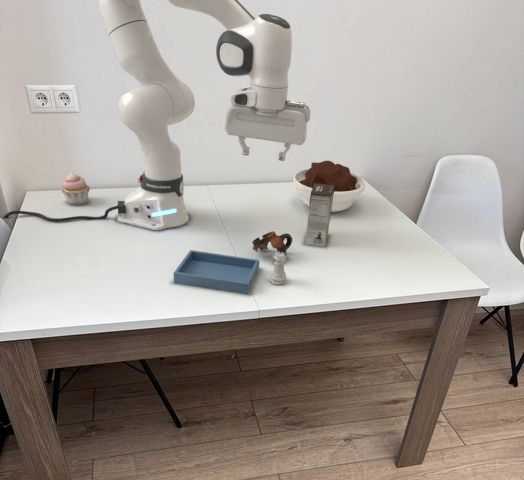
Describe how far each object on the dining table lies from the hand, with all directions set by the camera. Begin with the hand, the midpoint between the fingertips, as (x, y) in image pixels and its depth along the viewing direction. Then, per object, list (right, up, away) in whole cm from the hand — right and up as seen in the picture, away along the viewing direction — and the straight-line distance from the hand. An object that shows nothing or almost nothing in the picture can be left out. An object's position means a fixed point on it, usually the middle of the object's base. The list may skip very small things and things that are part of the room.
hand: (263, 157), depth 125 cm
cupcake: (-63, +1, +41) cm, 75 cm away
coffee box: (+16, -15, +27) cm, 35 cm away
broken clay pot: (+3, -22, +17) cm, 28 cm away
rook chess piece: (+4, -31, +5) cm, 32 cm away
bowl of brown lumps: (+22, +2, +50) cm, 55 cm away
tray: (-12, -29, +6) cm, 32 cm away
